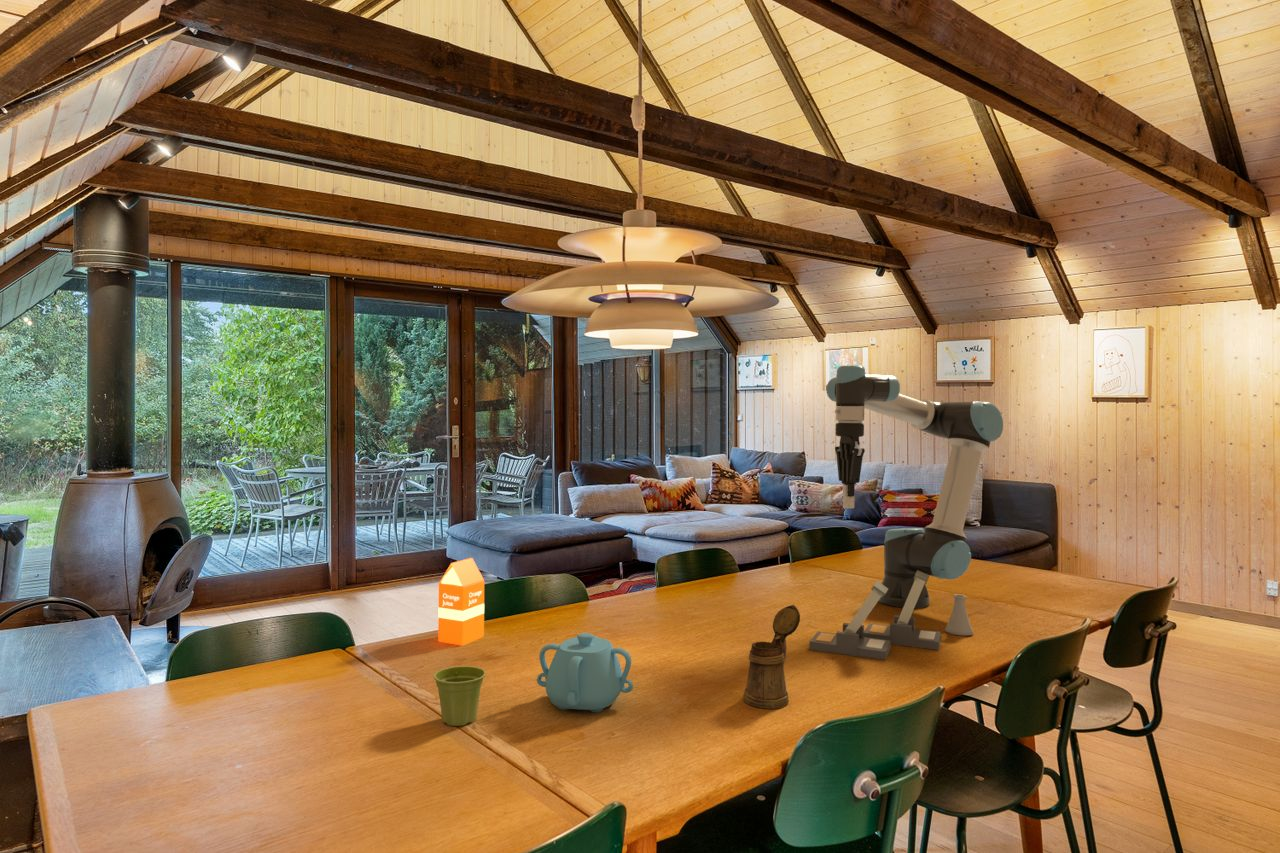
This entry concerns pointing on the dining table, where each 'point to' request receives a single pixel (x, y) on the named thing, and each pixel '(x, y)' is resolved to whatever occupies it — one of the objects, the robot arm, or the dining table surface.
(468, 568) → the orange juice
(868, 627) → the housing far
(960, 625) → the flask
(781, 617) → the wooden mug
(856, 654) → the housing near
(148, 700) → the dining table surface
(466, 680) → the plant pot
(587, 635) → the decorative pot
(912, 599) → the lever far
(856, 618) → the lever near
